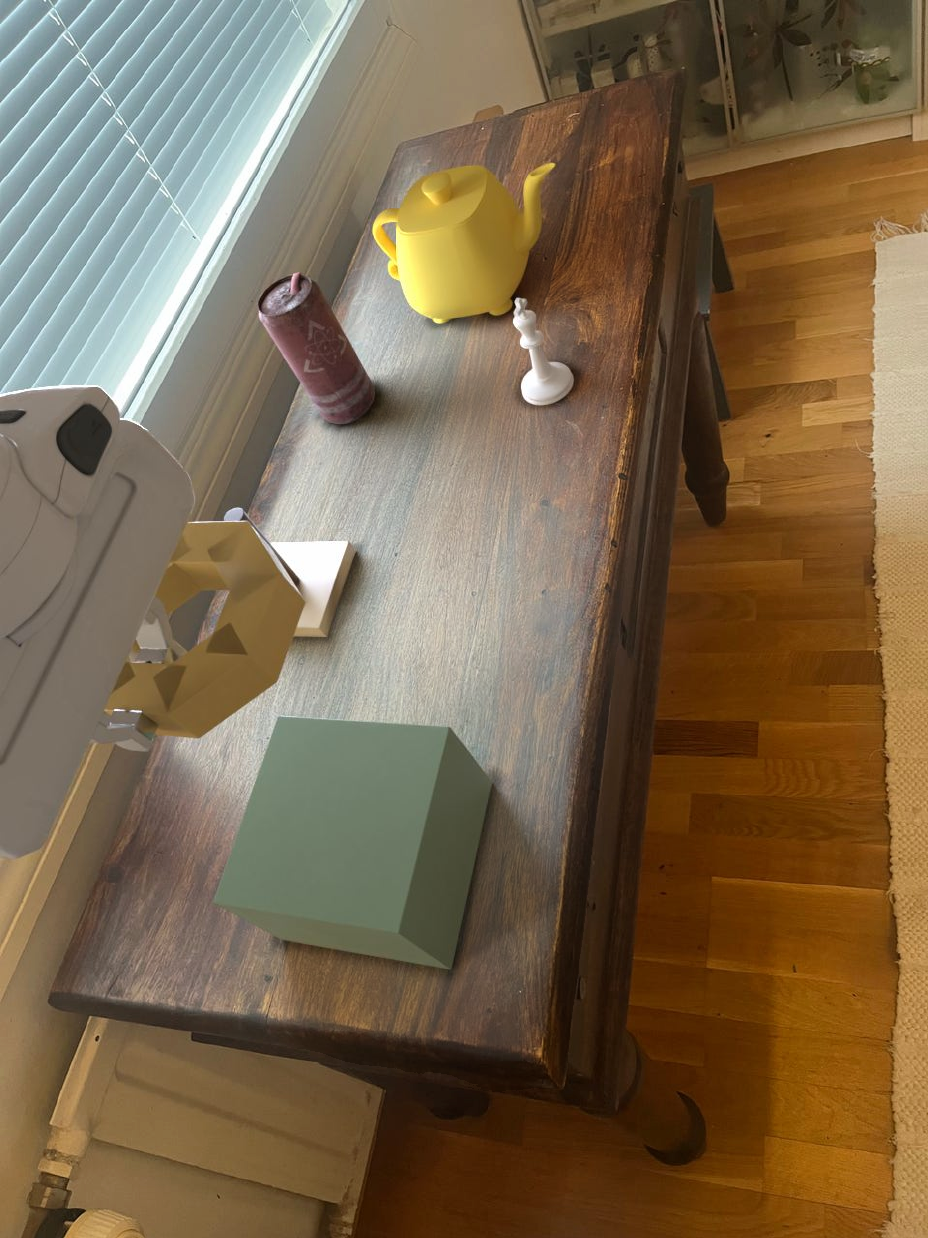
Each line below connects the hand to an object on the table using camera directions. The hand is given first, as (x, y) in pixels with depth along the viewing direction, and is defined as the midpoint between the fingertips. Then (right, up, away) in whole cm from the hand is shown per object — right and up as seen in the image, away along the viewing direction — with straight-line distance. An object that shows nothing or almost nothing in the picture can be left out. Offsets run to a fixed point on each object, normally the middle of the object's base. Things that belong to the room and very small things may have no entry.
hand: (159, 701), depth 48 cm
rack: (+1, +7, +34) cm, 35 cm away
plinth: (+11, -13, +17) cm, 24 cm away
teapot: (+19, +39, +49) cm, 65 cm away
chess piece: (+24, +26, +38) cm, 52 cm away
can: (+4, +26, +46) cm, 53 cm away
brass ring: (+1, +3, +3) cm, 5 cm away
